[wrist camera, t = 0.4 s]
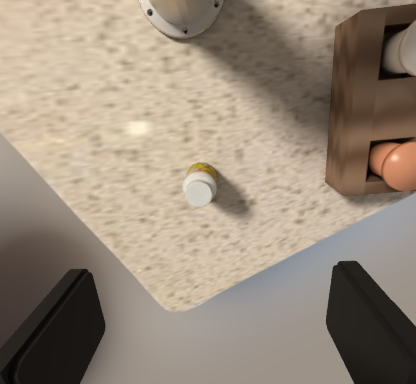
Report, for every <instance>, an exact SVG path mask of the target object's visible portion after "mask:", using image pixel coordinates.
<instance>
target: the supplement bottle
mask: <svg viewBox="0 0 416 384" xmlns="http://www.w3.org/2000/svg"><path fill="white" fill-rule="evenodd" d="M182 189H183V193H184V195H185V198H186V200H187V202H188V203H189V204H190V205H192V206H194V207H204V206H206V205H207V204H208V203H209V202H210V201H211V200H212V199H213V198H214V196H215V194H216V190H217V181H216V172H215V170H214V168H213V167H212V166H211V165H209V164H207V163H203V162H198V163H195V164H193V165H192V166H191V167H190V168H189V169H188V171H187V174H186V177H185V179H184V182H183V186H182Z"/></svg>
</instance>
